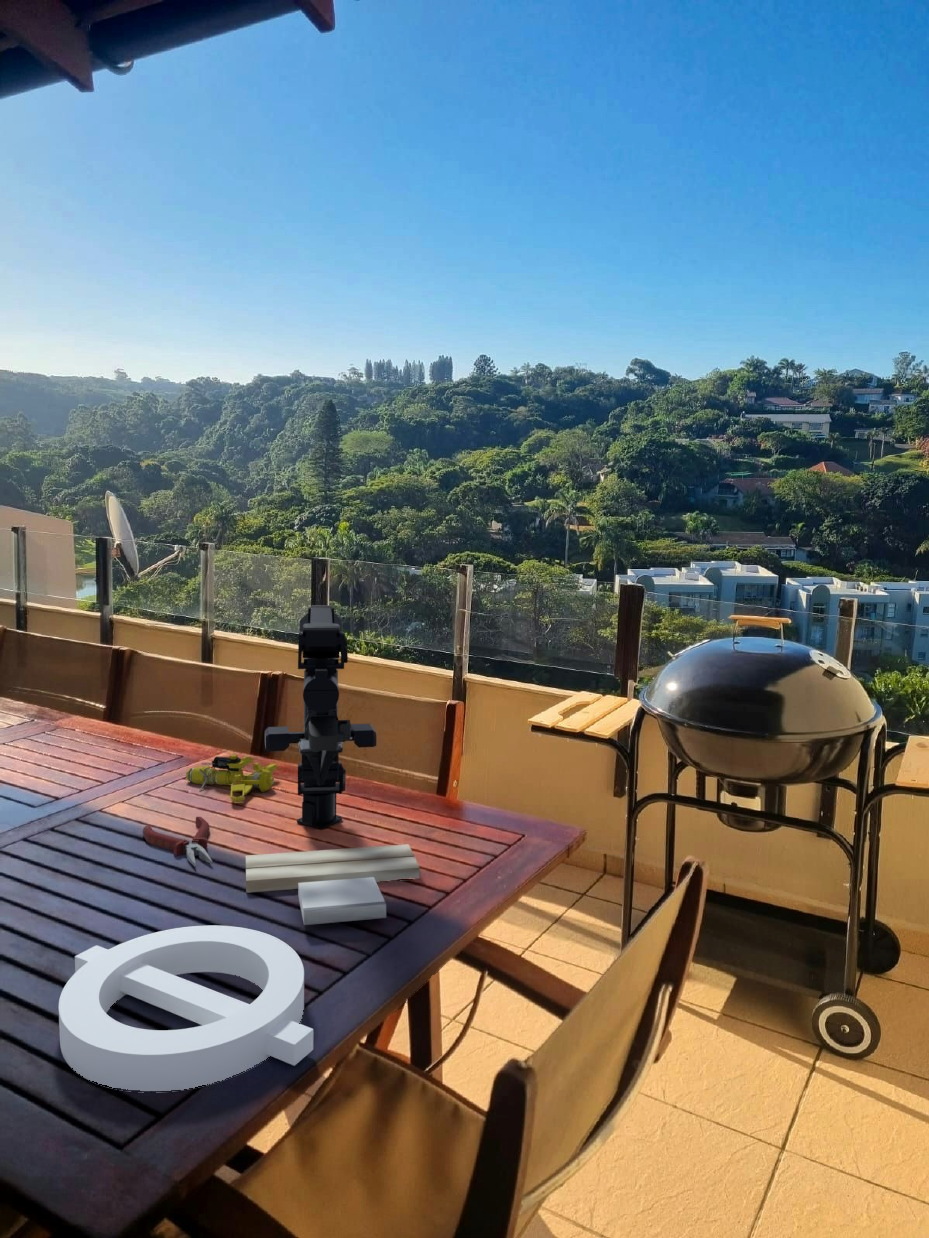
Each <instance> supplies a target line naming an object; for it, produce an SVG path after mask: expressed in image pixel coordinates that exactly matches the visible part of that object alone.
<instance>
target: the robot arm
mask: <svg viewBox="0 0 929 1238" xmlns="http://www.w3.org/2000/svg"><path fill="white" fill-rule="evenodd" d="M307 609H308V610H307V613H306V614H305V615H304V616H303V617H301V619H300V620H299V629H298V630H299V631H298V644H297V645H298V650H297V652H298V653H297V654H298V655H297V670H303V673H304V674H303V688H302V689H303V691H302V692H303V693H302V696H303V697H302V698H303V731H290V730H289V726H286V725H285V726H268V727H267V728H266V729H265V730H264V746H265V747H264V748H265V751H266V752H285V751H286V750H287V749H289V747H290V744H297V746H298V750H299V754H300V755H301V763H300V762H299V763H297V796H302V803H301V817H299V818H297V819H296V823H297V824H300V825H304V826H308V827H312V828H315V829H319V830H324V829H325V828H328V827H330V826H332V825H334V824H337V823H339V822H340V821H342V820H343V816H340V815H337V794H338V795H343V792H345V791H346V777H347V775H346V774H347V772H346V771H347V770H346V769H345V768H344V765H343V762H339V760H340V759H339V756H340V755H339V753H343V751H344V748H343V744H344V743H346V742H353V743H354V744H355V746H357V747H358V748H375V747H377V732H376V730H375V728H374V726H373V725H372V724H371V723H351V720H350V719H339V718H338V717H339V716H338V711H339V710H338V708H339V707H338V705H339V704H338V703H339V700H340V699H339V698H340V691H339V670H344V669H345V664H348V663H349V661H348V659H349V658H348V655H349V653H348V638H347V637H346V633H344V631H343V620H342V618H340V617H339V616H338V615H337V614H336V613H335V606H332V605H324V604H323V605H322V604H320V605H319V604H315V605H314V604H312V605H310V606H308V607H307ZM302 659H303V662H302ZM339 659H340V661H339Z"/></svg>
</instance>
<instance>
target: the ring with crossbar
mask: <svg viewBox="0 0 929 1238" xmlns="http://www.w3.org/2000/svg"><path fill="white" fill-rule="evenodd" d="M74 966H75V967H74V968H75V969H74V971H75V972H74V973H73V974H72V976H71V977H70V978H69V980H68V981H67V982H66V984H65V985H64V987H63V988H62V991H61V993H60V997H59V1000H58V1024H59V1026H58V1028H59V1045H60V1047H59V1048H60V1051H61V1054H62V1057H63V1059H64V1061H65V1062H66V1063H67V1065H68V1066H69V1067H70V1068H71V1069H72V1068H73V1069H72V1070H73V1072H75V1071H76V1072H75V1073H76V1074H78V1075H79V1074H80V1075H79V1076H81V1077H82V1076H83V1077H82V1078H84V1079H86V1080H88V1081H89V1080H90V1081H89V1082H92V1081H94V1082H97V1083H98V1084H97V1085H99V1084H102V1085H107V1086H109V1087H112V1088H111V1089H113V1088H121V1089H126V1090H127V1089H128V1090H140V1091H171V1090H181V1091H185V1090H184V1089H187V1090H190V1089H189V1088H193V1089H196V1088H195V1087H198V1086H202V1085H206V1086H210V1085H213V1084H215V1083H214V1082H217V1081H220V1082H223V1081H226V1080H227V1079H226V1078H229V1077H231V1078H233V1077H232V1076H233V1075H236V1074H239V1073H241V1072H243V1071H245V1072H247V1071H248V1070H247V1069H249V1068H251V1069H253V1068H255V1067H254V1065H256V1064H259V1063H260V1062H262V1061H264V1060H265V1061H267V1060H268V1059H269V1058H268V1057H270V1056H271V1057H273V1058H275V1059H276V1060H277V1059H278V1060H280V1061H282V1062H284V1063H286V1064H289V1065H291V1066H293V1067H294V1066H296V1065H298V1063H300V1062H301V1061H302V1060H303V1059H304V1058H305V1057H306V1056H309V1054H310V1053H312V1051H313V1050H314V1028H312V1027H309V1026H307V1025H304V1024H302V1023H301V1022H302V1020H301V1019H303V1017H302V1015H304V1012H303V1010H305V968H304V964H303V961H302V959H301V957H300V956H299V954H298V953H297V952H296V950H294V949H293V947H291V946H289V944H287V942H284V941H283V940H281V939H279V938H278V937H276V936H273V935H271V934H268V933H266V932H262V931H259V930H255V929H251V928H246V927H240V926H239V927H238V926H231V925H217V924H214V925H195V926H194V925H192V926H184V927H175V928H170V929H166V930H159V931H157V932H152V933H148V934H144V935H142V936H138V937H135V938H133V939H130V940H129V939H128V940H127V941H124V942H122V943H119V944H117V945H115V946H113V947H110V948H109V949H107V948H106V947H105V948H104V947H103V946H100V945H94V946H92V947H90V948H88V949H86V950H84V951H83V952H81V953H79V954H77V955H75V956H74ZM191 973H220V974H228V975H232V976H235V975H236V977H239V976H240V977H239V978H242V979H245V980H247V981H248V982H249V981H250V982H251V983H252V984H254V983H255V984H254V985H256V986H257V985H258V986H259V987H260V988H261V989H262V990H263V991H262V990H261V989H260V988H259V989H260V990H261V991H262V992H260V994H259V996H258V997H257V998H255V999H254V1000H253V1001H252V1002H251V1003H250V1004H249V1003H247V1002H245V1001H242V1000H240V999H237V998H235V997H232V996H229V995H226V994H224V993H221V992H218V991H216V990H213V989H210V988H208V987H206V986H203V985H201V984H199V983H196V982H193V981H191V980H188V979H185V978H183V977H179V976H177V975H183V974H184V975H185V974H191ZM258 986H257V987H258ZM126 995H129V996H130V997H131V996H132V997H133V998H136V999H138V1000H141V1001H143V1002H145V1003H148V1004H150V1005H152V1006H155V1007H157V1008H160V1009H162V1010H165V1011H166V1012H170V1013H172V1014H174V1015H177V1016H179V1017H182V1018H183V1019H186V1020H188V1021H191V1022H194V1023H196V1024H198V1026H194V1027H188V1028H181V1029H180V1028H179V1029H168V1030H164V1029H163V1030H157V1029H156V1030H155V1029H146V1028H139V1027H135V1026H134V1027H133V1026H132V1025H131V1026H130V1025H127V1024H124V1023H122V1022H119V1021H118V1020H115V1019H114V1018H113V1017H111V1016H109V1015H108V1014H107V1013H108V1011H109V1010H110V1009H111V1008H112V1007H111V1006H112V1005H113V1004H114V1003H115V1004H116V1003H117V1002H118V1001H119V1000H121V999H122V998H123V997H124V996H126ZM117 1000H118V1001H117ZM116 1001H117V1002H116ZM115 1004H114V1005H115ZM114 1005H113V1006H114ZM110 1007H111V1008H110ZM300 1021H301V1022H300ZM299 1023H300V1024H299ZM271 1057H270V1058H271ZM267 1058H268V1059H267ZM266 1059H267V1060H266ZM265 1061H264V1062H265ZM262 1063H263V1062H262ZM260 1064H261V1063H260ZM260 1064H259V1065H260ZM252 1067H253V1068H252ZM246 1070H247V1071H246ZM249 1070H250V1069H249ZM243 1073H244V1072H243ZM241 1074H242V1073H241ZM239 1075H240V1074H239ZM236 1076H237V1075H236ZM225 1079H226V1080H225ZM229 1079H230V1078H229ZM222 1080H223V1081H222ZM94 1082H93V1083H94ZM212 1083H213V1084H212ZM217 1083H218V1082H217ZM207 1084H208V1085H207ZM209 1084H210V1085H209ZM102 1085H101V1086H102ZM109 1087H108V1088H109ZM202 1087H203V1086H202ZM198 1088H199V1087H198Z"/></svg>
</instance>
